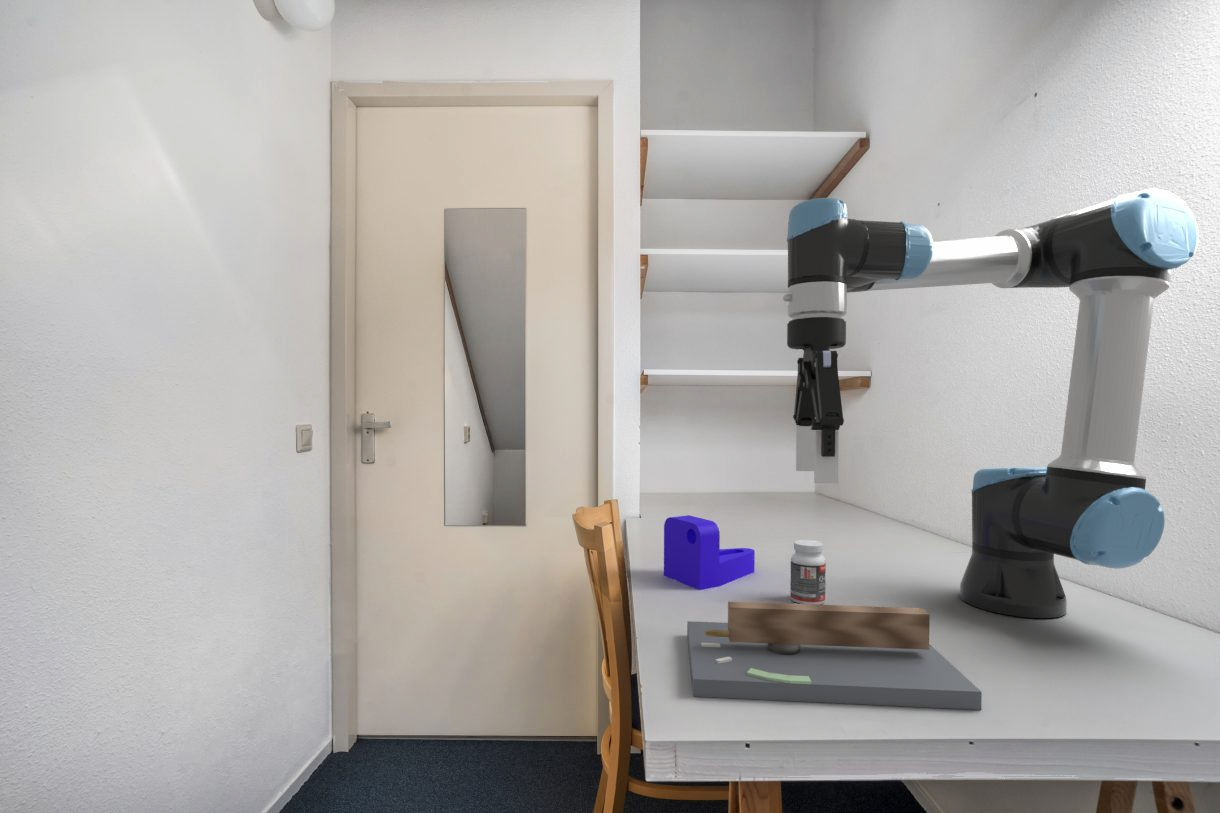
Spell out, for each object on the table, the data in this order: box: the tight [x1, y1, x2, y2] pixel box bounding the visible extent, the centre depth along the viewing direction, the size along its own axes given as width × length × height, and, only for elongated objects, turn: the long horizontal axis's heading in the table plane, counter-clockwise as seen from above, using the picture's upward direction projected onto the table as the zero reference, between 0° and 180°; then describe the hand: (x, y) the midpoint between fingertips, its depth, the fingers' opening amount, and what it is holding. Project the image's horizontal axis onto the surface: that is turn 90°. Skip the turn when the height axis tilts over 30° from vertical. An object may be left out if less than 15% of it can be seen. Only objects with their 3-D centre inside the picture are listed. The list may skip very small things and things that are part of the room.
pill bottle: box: [789, 539, 827, 605], centre depth 107 cm, size 6×6×10 cm
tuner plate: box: [686, 621, 983, 711], centre depth 80 cm, size 32×19×2 cm, turn 85°
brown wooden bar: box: [705, 601, 931, 655], centre depth 80 cm, size 28×4×5 cm, turn 85°
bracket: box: [663, 515, 756, 591], centre depth 122 cm, size 18×11×12 cm, turn 122°
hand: (815, 476), depth 85 cm, fingers open, 13 cm apart
